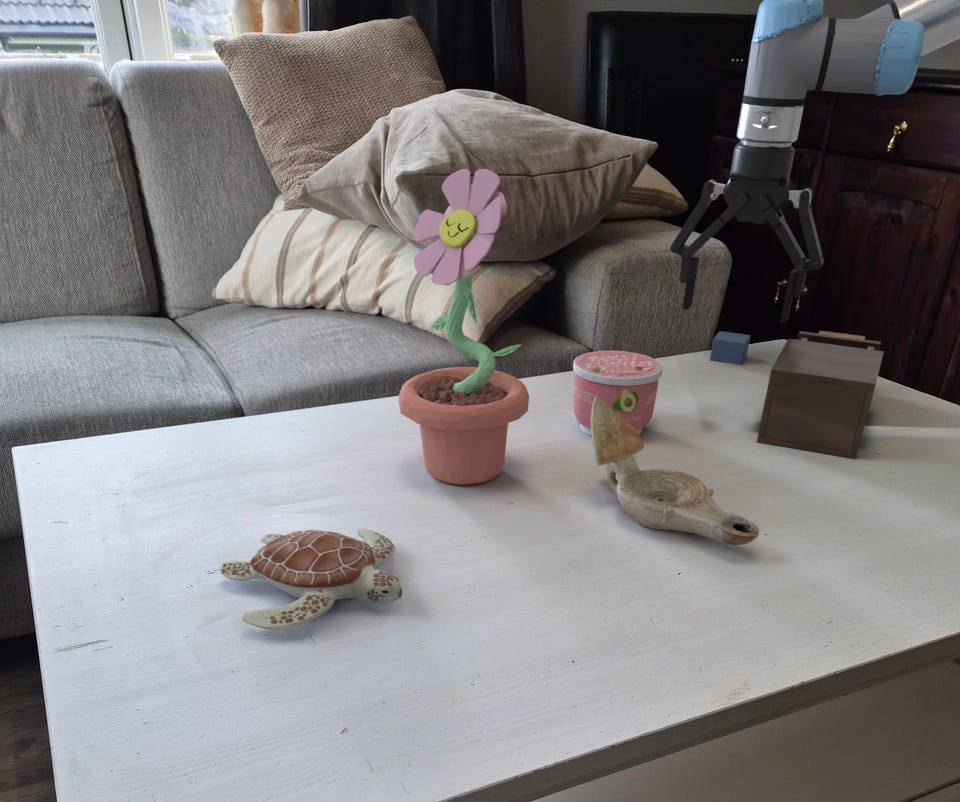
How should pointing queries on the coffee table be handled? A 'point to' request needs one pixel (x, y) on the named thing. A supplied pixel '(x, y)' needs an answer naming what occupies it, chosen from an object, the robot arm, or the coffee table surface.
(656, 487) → the oil lamp
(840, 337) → the drawer
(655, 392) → the container
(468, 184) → the decorative flower
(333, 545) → the decorative turtle
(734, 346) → the block
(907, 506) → the coffee table surface
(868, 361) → the cabinet
